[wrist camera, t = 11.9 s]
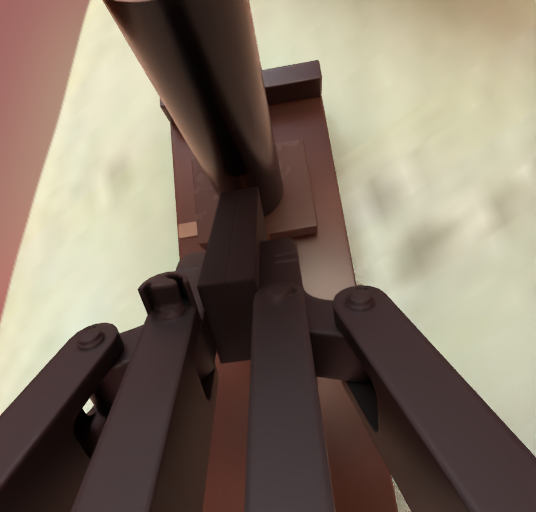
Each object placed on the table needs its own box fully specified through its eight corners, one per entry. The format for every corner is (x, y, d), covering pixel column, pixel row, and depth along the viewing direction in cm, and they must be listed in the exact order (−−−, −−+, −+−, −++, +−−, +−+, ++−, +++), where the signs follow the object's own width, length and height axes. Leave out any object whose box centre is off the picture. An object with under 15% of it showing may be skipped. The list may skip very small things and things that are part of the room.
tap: (318, 233, 21) (325, -104, 6) (174, 255, 21) (-165, 2, 6) (290, 63, 24) (244, -471, 8) (163, 86, 24) (-92, -374, 9)
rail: (396, 534, 19) (414, 572, 16) (211, 551, 20) (189, 591, 16) (318, 99, 25) (318, 59, 22) (179, 124, 26) (158, 88, 23)
